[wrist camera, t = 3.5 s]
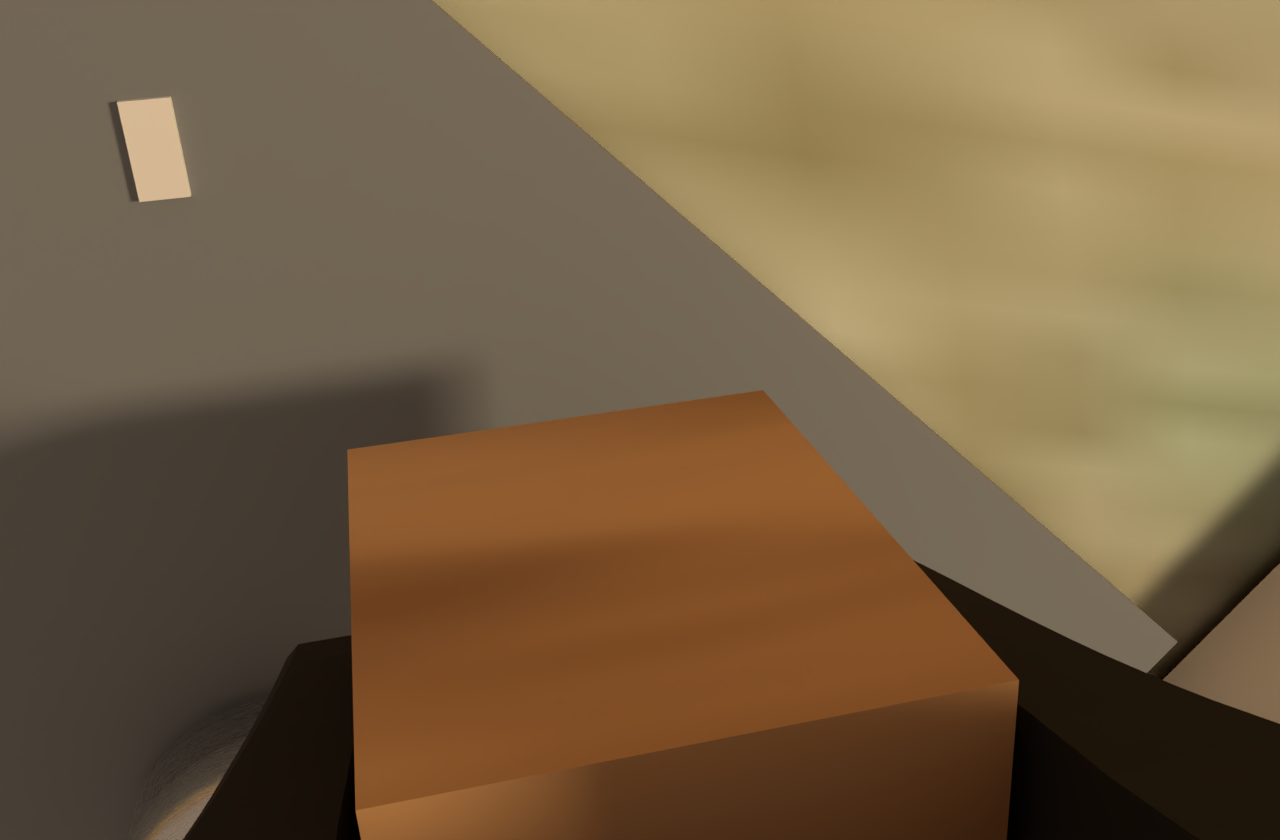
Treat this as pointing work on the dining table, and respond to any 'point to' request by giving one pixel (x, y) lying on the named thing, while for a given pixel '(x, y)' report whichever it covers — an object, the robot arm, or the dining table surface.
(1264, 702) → the tray
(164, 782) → the crank
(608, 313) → the crank base
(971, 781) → the block
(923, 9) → the dining table surface
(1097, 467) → the dining table surface
